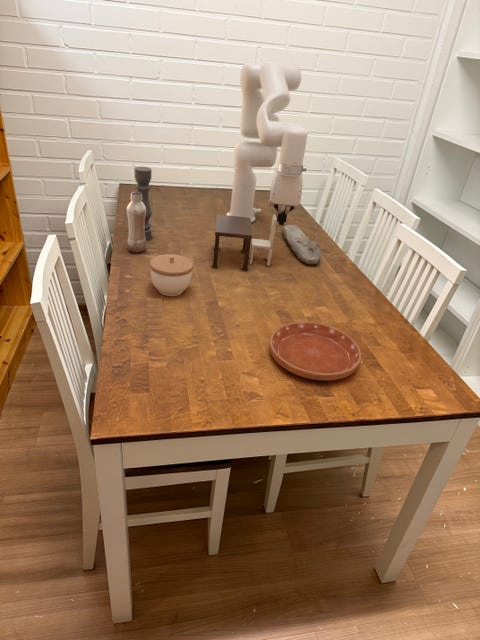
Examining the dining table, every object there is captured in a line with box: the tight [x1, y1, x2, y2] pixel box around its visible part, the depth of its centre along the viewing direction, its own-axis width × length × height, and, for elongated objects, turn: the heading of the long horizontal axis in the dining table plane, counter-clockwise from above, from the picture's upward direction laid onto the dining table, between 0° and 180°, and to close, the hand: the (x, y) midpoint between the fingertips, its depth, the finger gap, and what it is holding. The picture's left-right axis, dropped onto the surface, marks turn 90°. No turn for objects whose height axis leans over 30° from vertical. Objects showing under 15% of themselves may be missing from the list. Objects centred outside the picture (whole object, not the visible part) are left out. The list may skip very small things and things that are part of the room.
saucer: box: [269, 321, 362, 381], centre depth 120 cm, size 23×23×4 cm
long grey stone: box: [282, 224, 322, 265], centre depth 182 cm, size 35×5×10 cm
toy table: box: [212, 213, 253, 272], centre depth 164 cm, size 12×17×13 cm
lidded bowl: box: [149, 253, 194, 297], centre depth 140 cm, size 13×13×11 cm
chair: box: [249, 213, 277, 267], centre depth 163 cm, size 7×6×17 cm
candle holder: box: [134, 166, 152, 242], centre depth 168 cm, size 6×6×25 cm
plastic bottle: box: [126, 191, 147, 253], centre depth 159 cm, size 6×7×20 cm
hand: (280, 223), depth 161 cm, fingers closed
